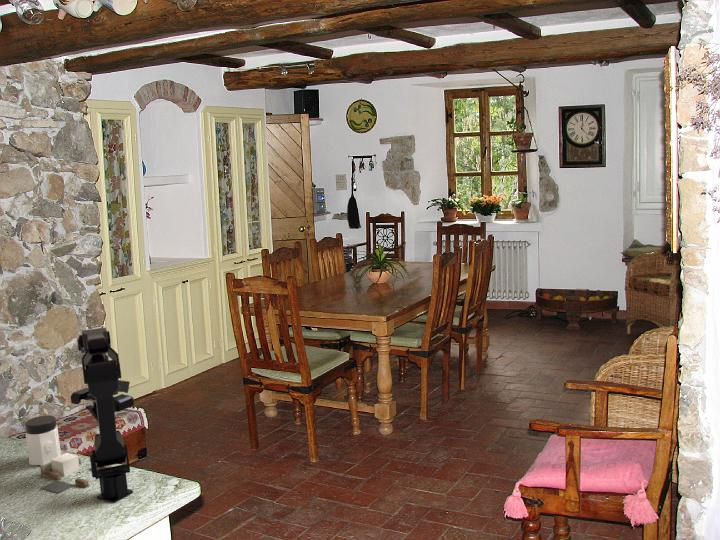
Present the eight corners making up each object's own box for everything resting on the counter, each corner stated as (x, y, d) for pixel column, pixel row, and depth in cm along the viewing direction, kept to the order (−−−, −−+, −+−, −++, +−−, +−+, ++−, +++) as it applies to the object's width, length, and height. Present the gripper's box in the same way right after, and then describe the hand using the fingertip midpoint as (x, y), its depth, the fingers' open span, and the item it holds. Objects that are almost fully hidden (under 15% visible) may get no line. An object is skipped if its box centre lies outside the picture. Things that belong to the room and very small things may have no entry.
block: (79, 469, 209) (78, 455, 208) (64, 476, 204) (62, 462, 204) (67, 466, 211) (66, 452, 210) (52, 473, 207) (50, 459, 206)
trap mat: (73, 485, 198) (73, 484, 198) (58, 493, 194) (57, 492, 194) (56, 480, 202) (56, 480, 202) (40, 488, 197) (40, 487, 197)
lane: (115, 472, 205) (114, 463, 205) (85, 487, 196) (84, 478, 196) (71, 461, 214) (70, 452, 214) (41, 475, 206) (40, 466, 205)
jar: (35, 469, 210) (29, 428, 208) (24, 461, 216) (19, 421, 214) (66, 458, 216) (61, 419, 214) (55, 451, 222) (50, 412, 220)
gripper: (146, 369, 203) (152, 424, 206) (99, 362, 213) (105, 415, 215) (114, 381, 194) (120, 439, 197) (66, 374, 203) (73, 428, 206)
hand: (105, 429), depth 204 cm, fingers closed
